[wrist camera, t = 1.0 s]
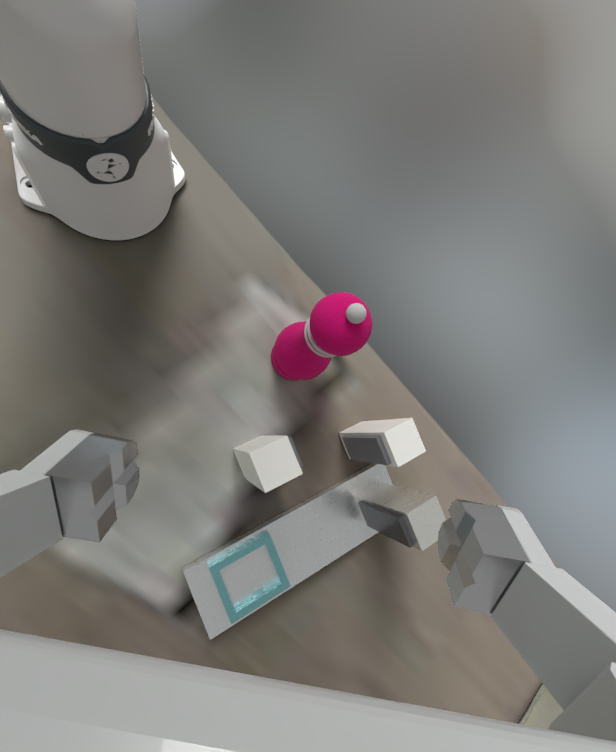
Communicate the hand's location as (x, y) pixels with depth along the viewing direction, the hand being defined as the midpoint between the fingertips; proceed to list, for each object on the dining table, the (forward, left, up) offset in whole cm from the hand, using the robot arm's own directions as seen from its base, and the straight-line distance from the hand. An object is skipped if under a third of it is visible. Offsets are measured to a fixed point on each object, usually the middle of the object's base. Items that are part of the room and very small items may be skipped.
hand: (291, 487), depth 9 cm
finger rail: (+16, +7, -36) cm, 40 cm away
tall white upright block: (+4, +5, -36) cm, 37 cm away
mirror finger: (+8, +19, -36) cm, 42 cm away
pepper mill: (-6, +15, -37) cm, 40 cm away
